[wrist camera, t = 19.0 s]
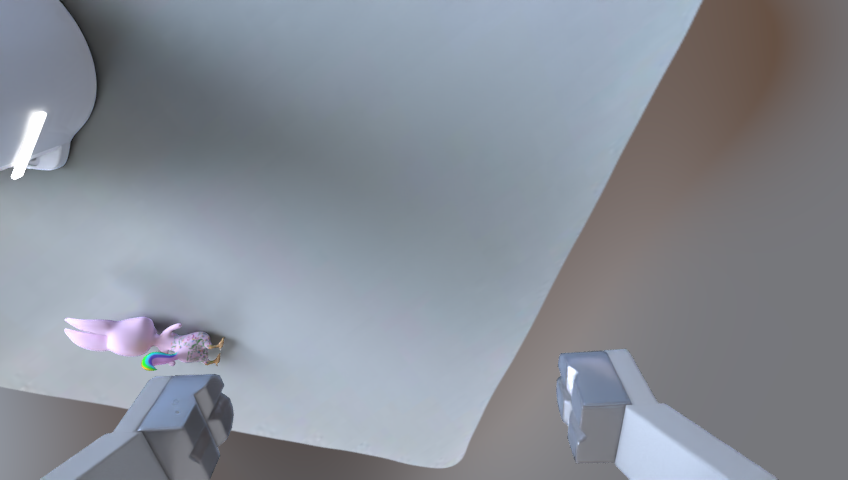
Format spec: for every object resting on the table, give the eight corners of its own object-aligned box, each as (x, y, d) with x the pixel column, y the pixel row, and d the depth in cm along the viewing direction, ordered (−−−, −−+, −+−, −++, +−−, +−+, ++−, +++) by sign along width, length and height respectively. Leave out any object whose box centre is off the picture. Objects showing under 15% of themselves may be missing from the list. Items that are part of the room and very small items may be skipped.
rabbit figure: (230, 317, 51) (73, 290, 46) (219, 357, 46) (41, 331, 41) (221, 356, 54) (72, 335, 49) (209, 398, 49) (42, 379, 44)
